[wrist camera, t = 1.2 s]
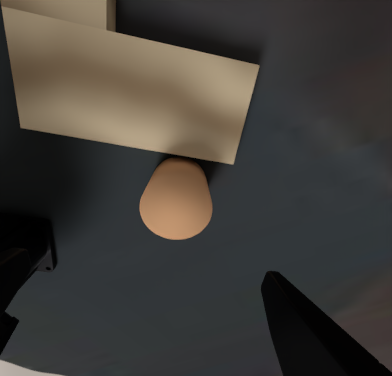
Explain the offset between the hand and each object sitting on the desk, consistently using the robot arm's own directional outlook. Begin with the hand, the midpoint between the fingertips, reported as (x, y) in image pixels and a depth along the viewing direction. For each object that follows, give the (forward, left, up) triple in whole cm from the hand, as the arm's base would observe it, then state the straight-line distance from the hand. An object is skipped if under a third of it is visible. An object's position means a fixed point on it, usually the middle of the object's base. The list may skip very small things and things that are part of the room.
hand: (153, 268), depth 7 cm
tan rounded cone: (-1, -1, -11) cm, 11 cm away
